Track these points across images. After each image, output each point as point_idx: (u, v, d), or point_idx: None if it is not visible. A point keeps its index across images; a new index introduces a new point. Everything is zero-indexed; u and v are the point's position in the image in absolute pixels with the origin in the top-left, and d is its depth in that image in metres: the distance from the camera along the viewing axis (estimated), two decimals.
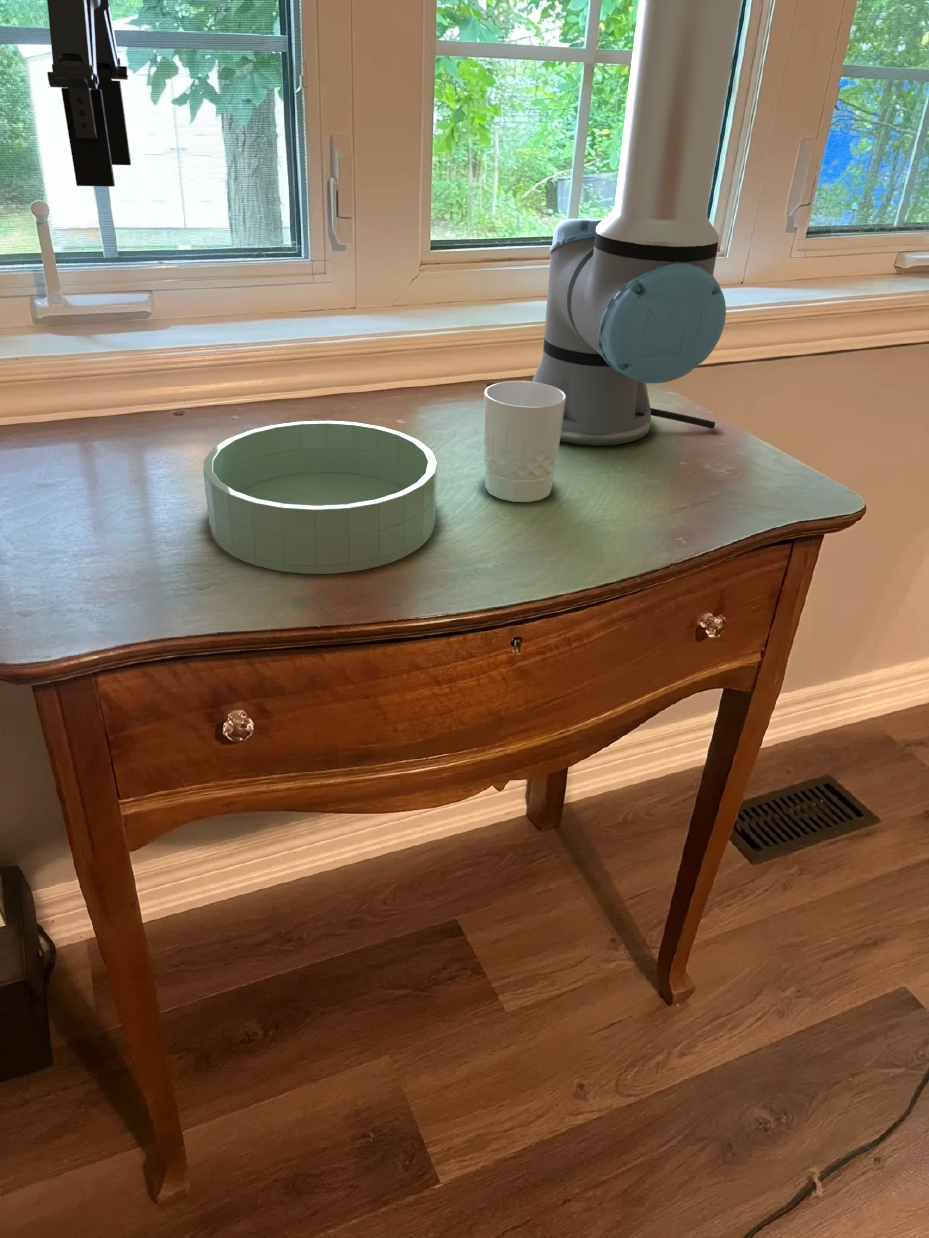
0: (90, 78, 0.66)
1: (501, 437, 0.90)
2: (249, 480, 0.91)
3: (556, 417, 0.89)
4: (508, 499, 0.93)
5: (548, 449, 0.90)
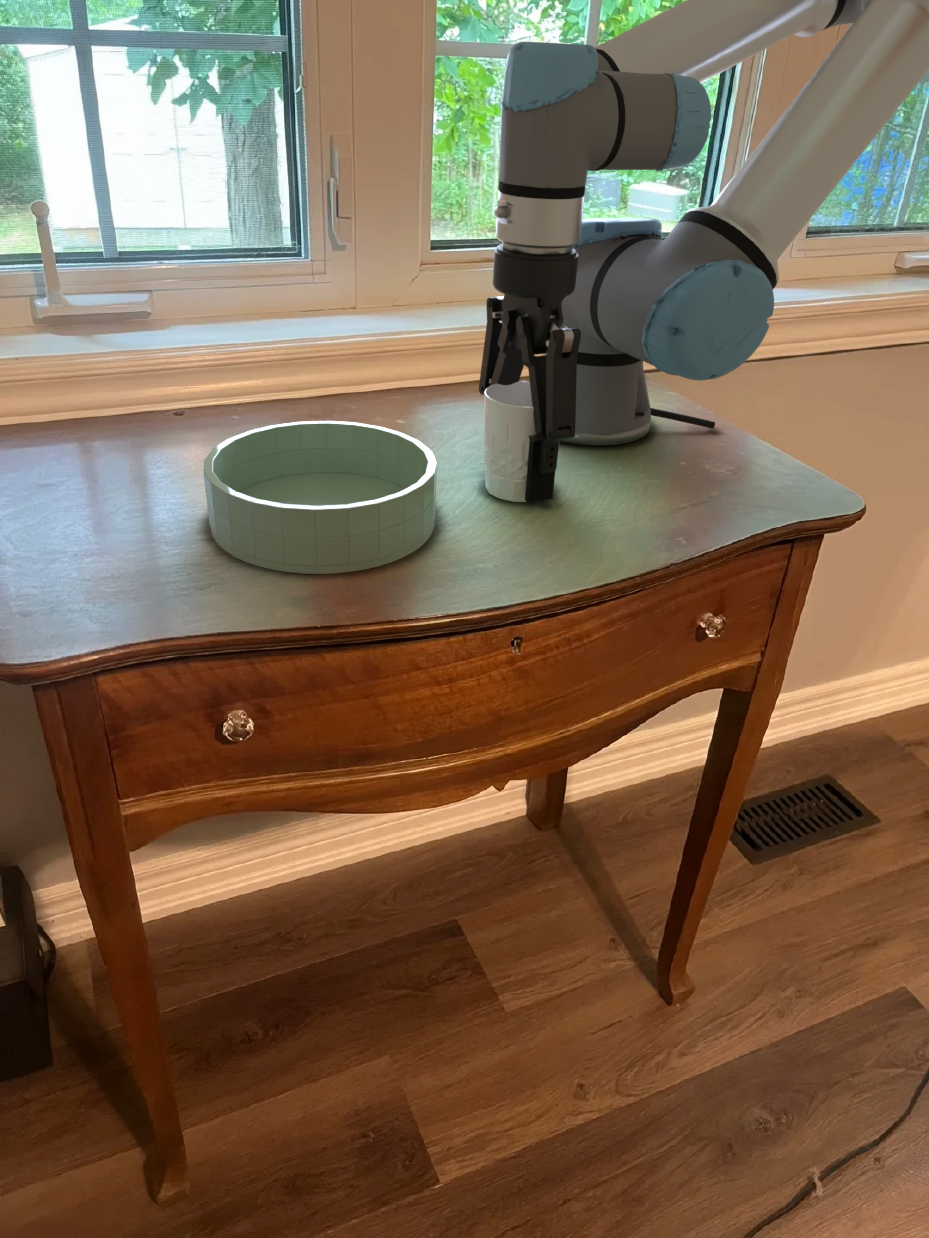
0: (570, 437, 0.87)
1: (501, 437, 0.90)
2: (249, 480, 0.91)
3: None
4: (508, 499, 0.93)
5: None
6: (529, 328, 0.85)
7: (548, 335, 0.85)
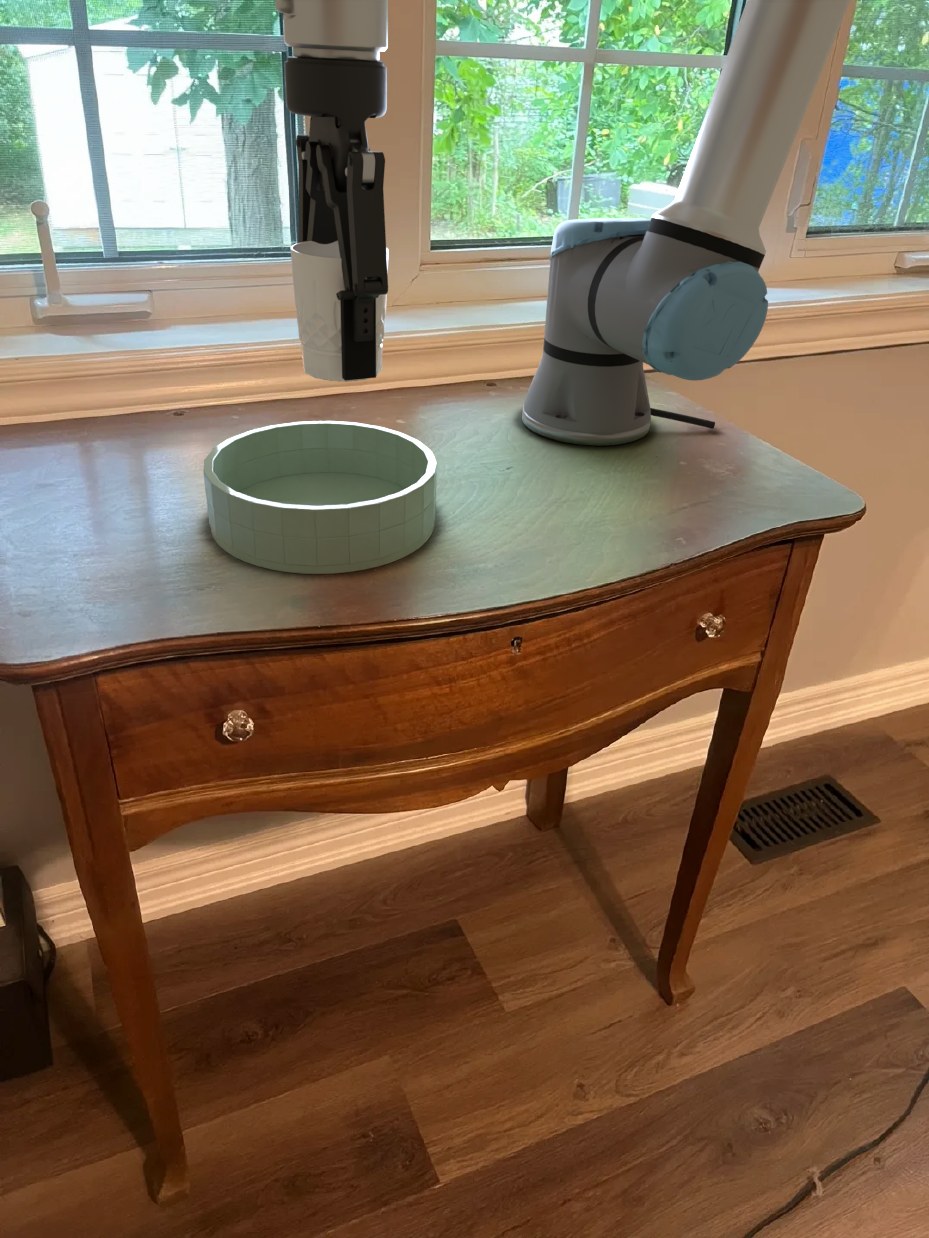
0: (384, 294, 0.72)
1: (308, 298, 0.75)
2: (249, 480, 0.91)
3: None
4: (324, 378, 0.78)
5: None
6: (331, 158, 0.71)
7: None
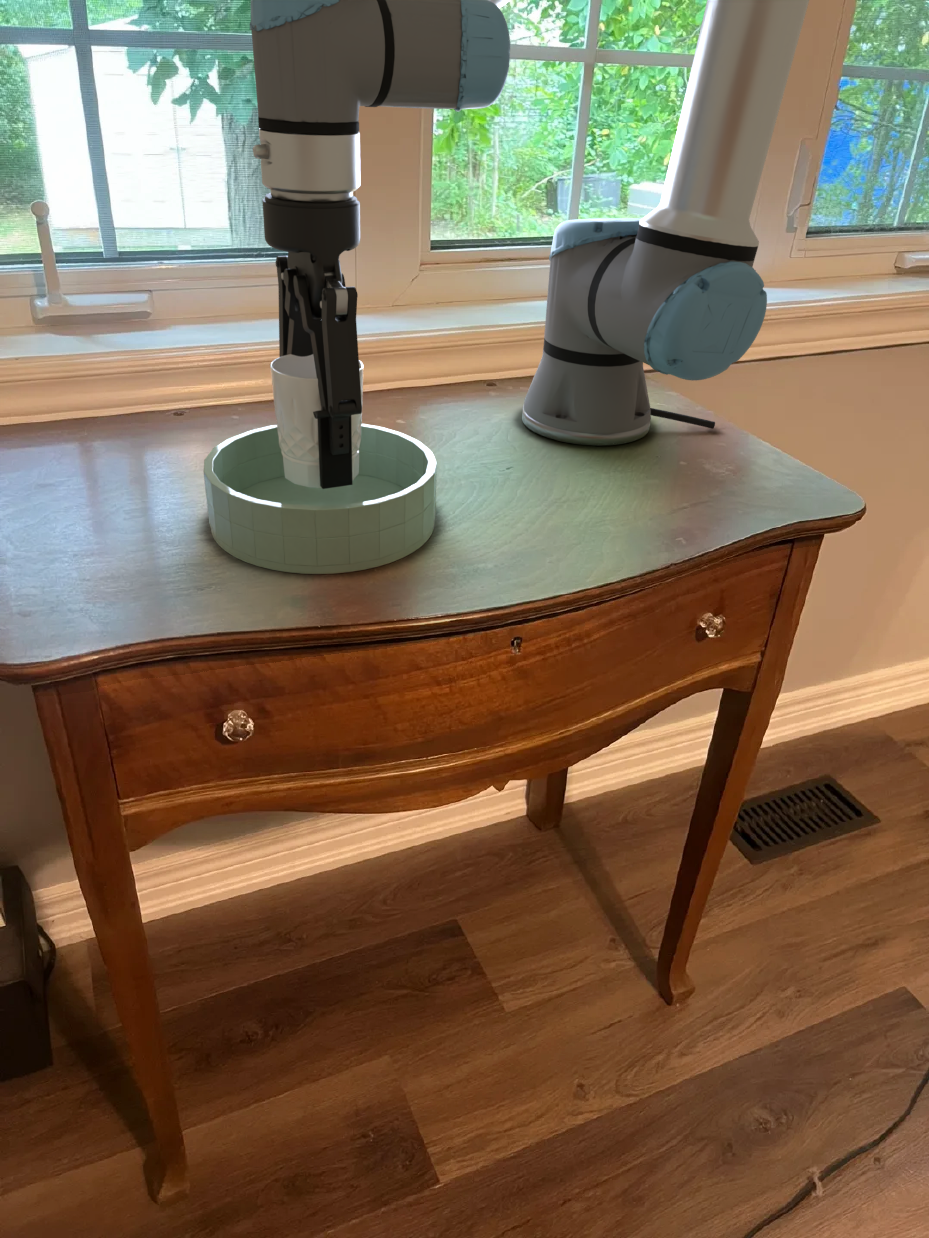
0: (358, 413, 0.76)
1: (287, 413, 0.79)
2: (249, 480, 0.91)
3: None
4: (303, 484, 0.82)
5: None
6: (307, 288, 0.74)
7: None
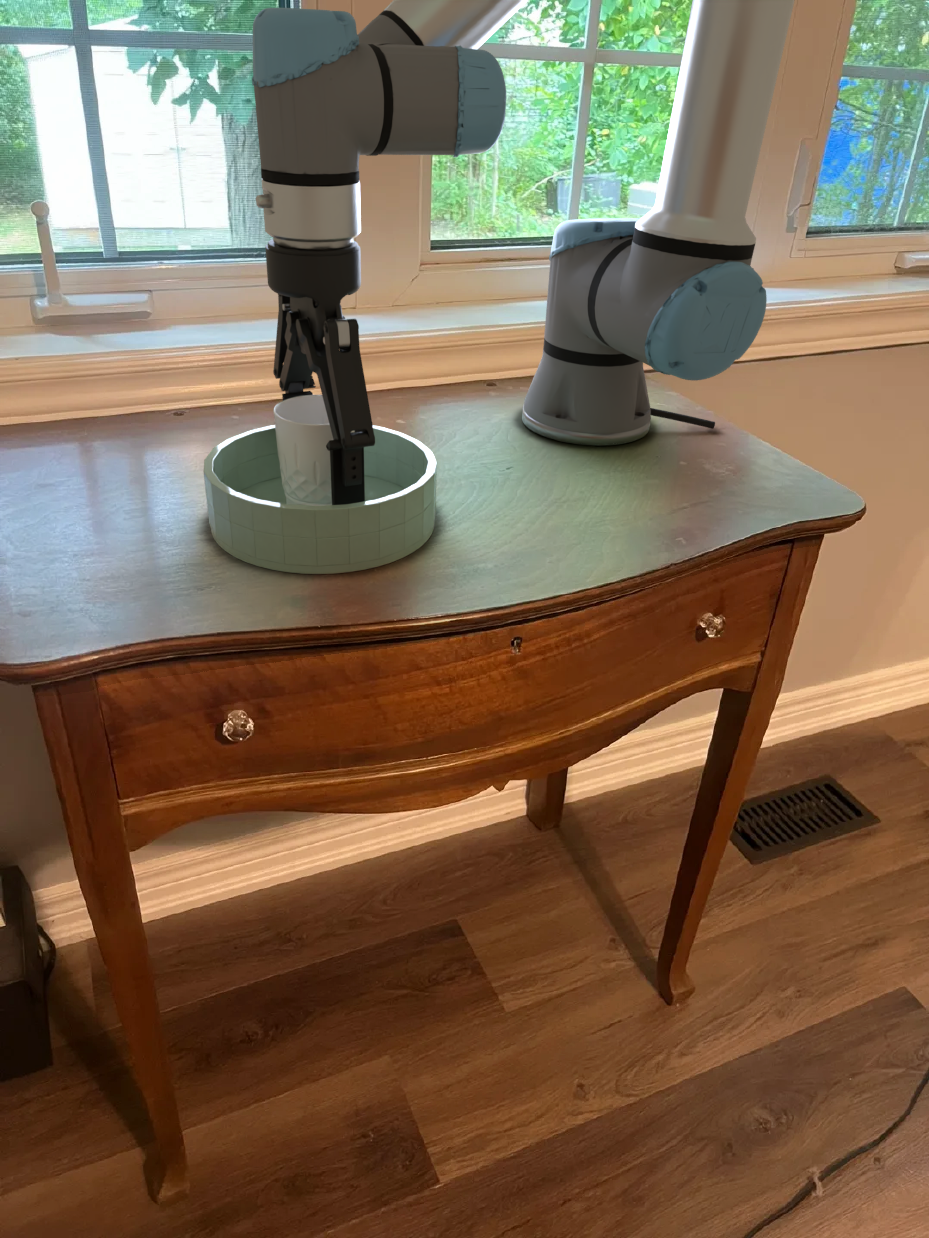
0: (372, 445, 0.75)
1: (289, 457, 0.81)
2: (249, 480, 0.91)
3: None
4: None
5: None
6: (309, 328, 0.76)
7: None
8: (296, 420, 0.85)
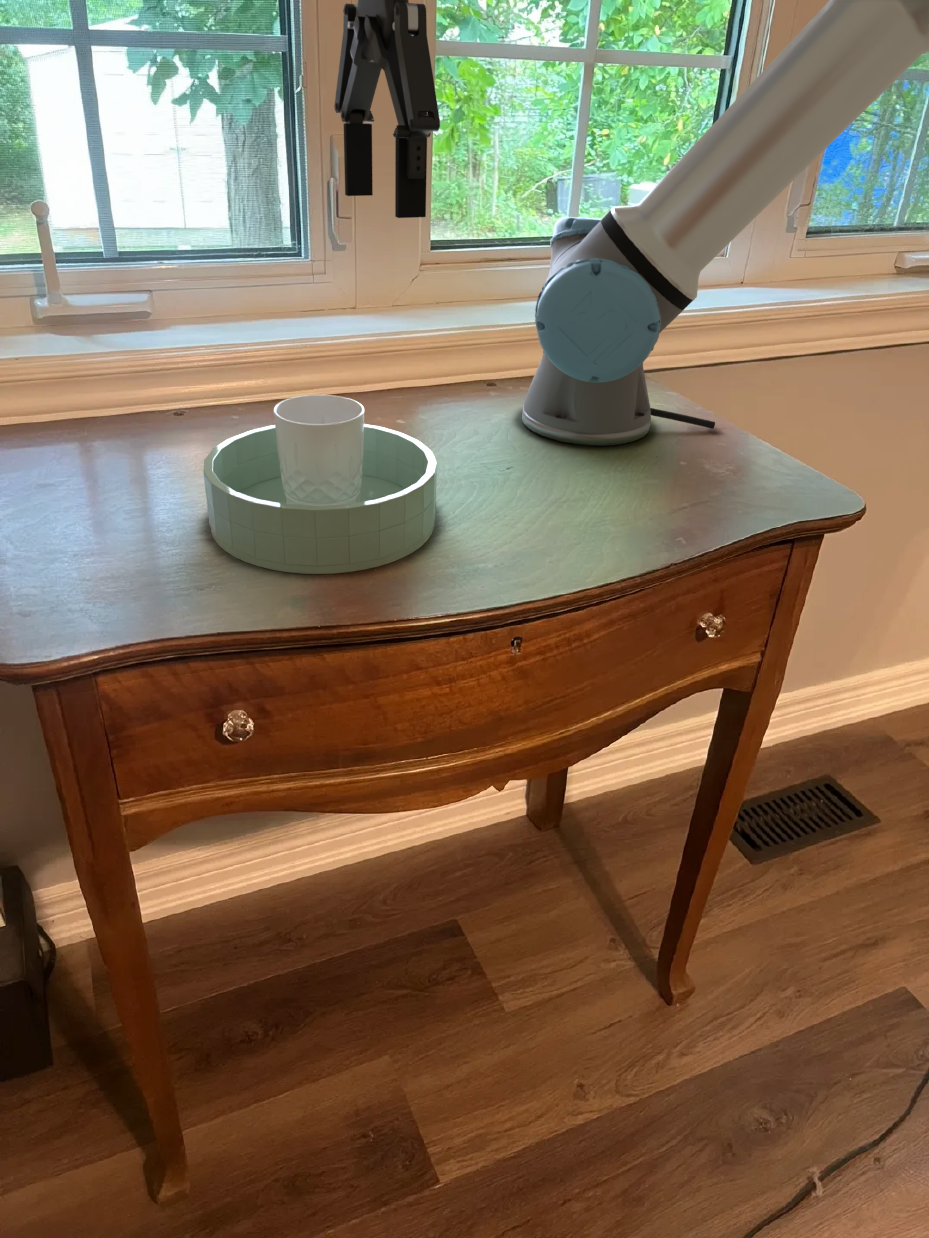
0: (437, 130, 0.80)
1: (289, 457, 0.81)
2: (249, 480, 0.91)
3: (349, 435, 0.81)
4: None
5: (344, 470, 0.82)
6: (377, 25, 0.81)
7: None
8: (296, 420, 0.85)
